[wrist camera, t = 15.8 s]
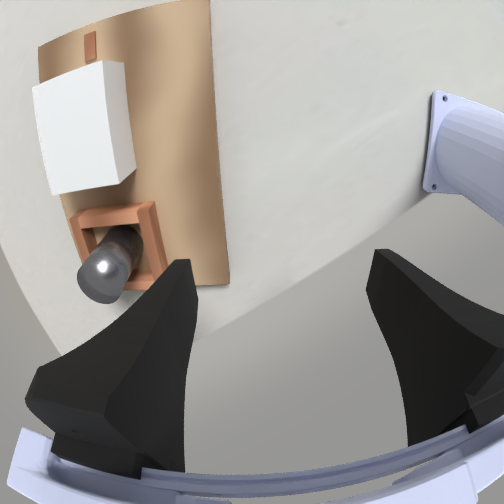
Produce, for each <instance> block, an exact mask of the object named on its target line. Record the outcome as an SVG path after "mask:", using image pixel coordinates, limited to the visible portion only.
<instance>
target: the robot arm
mask: <svg viewBox="0 0 504 504" xmlns="http://www.w3.org/2000/svg"><path fill="white" fill-rule="evenodd" d="M443 96H444V98H445V99H444V101H443ZM433 184H434V187H433V188H432V185H433ZM423 189H424V190H425V191H426V192H432V193H448V194H461V195H463V196H465V197H466V198H468V199H469V200H470V201H472V202H473V203H474V204H476V205H477V206H479V207H480V208H481V209H483V210H484V211H485V212H486V213H487V214H489V215H490V216H491V217H493V218H494V219H495V220H496V221H498V222H499V223H500V224H501V225H502V226H504V113H502V112H500V111H497V110H495V109H492V108H490V107H487V106H485V105H482V104H479V103H476V102H474V101H471V100H468V99H465V98H462V97H459V96H456V95H452V94H449V93H446V92H442V91H438V90H436V91H434V92H433V95H432V111H431V124H430V135H429V144H428V152H427V160H426V167H425V173H424V179H423ZM366 292H367V295H368V299H369V302H370V305H371V309H372V311H373V313H374V316H375V318H376V320H377V323H378V325H379V327H380V329H381V331H382V334H383V336H384V338H385V340H386V343H387V345H388V347H389V350H390V352H391V355H392V357H393V360H394V363H395V367H396V371H397V375H398V378H399V382H400V387H401V392H402V397H403V402H404V409H405V415H406V424H407V436H408V447H407V448H404V449H400V450H397V451H394V452H391V453H387V454H383V455H380V456H376V457H372V458H368V459H364V460H360V461H356V462H351V463H346V464H342V465H336V466H331V467H325V468H319V469H312V470H304V471H296V472H286V473H274V474H256V475H211V474H194V473H185V462H184V401H185V385H186V375H187V368H188V363H189V357H190V352H191V347H192V343H193V338H194V332H195V327H196V322H197V310H198V296H197V291H196V286H195V281H194V276H193V271H192V266H191V260H190V259H175V260H174V261H173V262H172V263H171V264H170V265H169V266H168V267H167V268H166V270H165V271H164V272H163V273H162V274H161V275H160V276H159V278H158V279H157V280H156V281H155V282H154V283H153V284H152V285H151V286H150V288H149V289H148V290H147V291H146V292H145V293H144V294H143V295H142V296H141V297H140V298H139V299H138V300H137V301H136V302H135V303H134V304H133V305H132V306H131V307H130V308H129V309H128V310H127V311H126V312H124V313H123V314H122V315H121V316H120V317H119V318H118V319H116V320H115V321H114V322H113V323H112V324H110V325H109V326H108V327H106V328H105V329H104V330H102V331H101V332H99V333H98V334H97V335H95V336H94V337H93V338H91V339H90V340H88V341H87V342H85V343H84V344H82V345H80V346H79V347H77V348H76V349H74V350H72V351H70V352H69V353H67V354H65V355H63V356H61V357H59V358H57V359H55V360H53V361H51V362H49V363H47V364H45V365H43V366H40V367H39V368H38V369H37V371H36V374H35V376H34V378H33V380H32V383H31V385H30V388H29V390H28V392H27V395H26V397H25V403H26V405H27V407H28V408H29V410H30V411H31V412H32V413H33V414H34V415H35V416H36V417H37V418H39V419H40V420H41V421H42V422H43V423H44V424H46V425H47V426H48V427H49V428H50V429H52V430H53V431H54V432H55V436H54V440H53V439H51V438H49V437H48V436H45V435H43V434H40V433H38V432H36V431H33V430H31V429H28V428H26V427H23V428H22V430H21V433H20V436H19V439H18V442H17V446H16V449H15V452H14V456H13V459H12V463H11V467H10V471H9V475H8V480H7V485H8V486H10V487H11V488H13V489H15V490H16V491H18V492H19V493H21V494H23V495H25V496H26V497H28V498H30V499H32V500H33V501H35V502H37V503H39V504H231V502H230V501H229V500H219V499H209V498H202V497H223V498H251V497H273V496H285V495H295V494H303V493H311V492H317V491H323V490H328V489H335V488H340V487H344V486H348V485H353V484H358V483H362V482H366V481H370V480H373V479H376V478H380V477H384V476H387V475H390V474H393V473H397V472H399V471H403V470H406V469H408V468H411V467H414V466H417V465H419V464H422V463H424V462H427V461H429V460H432V459H434V458H435V459H434V460H432V461H430V462H428V463H426V464H424V465H421V466H419V467H417V468H416V469H415V470H414V471H412V472H411V473H409V474H408V475H406V476H404V477H402V478H401V479H398V480H396V481H394V482H393V483H392V486H389V487H386V488H382V489H379V490H375V491H372V492H368V493H364V494H361V495H357V496H352V497H348V498H344V499H339V500H334V501H329V502H324V503H318V504H476V503H477V501H478V496H477V493H479V492H480V491H481V490H483V489H484V488H486V487H487V486H488V485H490V484H491V483H492V482H494V481H495V480H496V479H498V478H499V477H500V476H501V475H503V474H504V315H502V314H499V313H496V312H494V311H492V310H489V309H487V308H485V307H483V306H480V305H478V304H476V303H474V302H472V301H470V300H468V299H466V298H465V297H463V296H461V295H459V294H457V293H455V292H454V291H452V290H450V289H449V288H447V287H446V286H444V285H443V284H441V283H439V282H438V281H436V280H435V279H433V278H432V277H430V276H429V275H427V274H426V273H424V272H423V271H422V270H420V269H419V268H417V267H416V266H414V265H413V264H411V263H410V262H408V261H407V260H406V259H404V258H402V257H401V256H400V255H398V254H396V253H395V252H393V251H391V250H389V249H375V252H374V256H373V261H372V265H371V270H370V274H369V278H368V282H367V287H366ZM186 495H189V496H186ZM195 496H202V497H195Z"/></svg>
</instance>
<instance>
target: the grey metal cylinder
mask: <svg viewBox="0 0 504 504" xmlns="http://www.w3.org/2000/svg"><path fill="white" fill-rule="evenodd" d="M142 251H143V240H142V238H141V236H140V234H139V233H138V232H137V231H136V230H135V229H134V228H132V227H130V226H128V225H124V224H122V225H115V226H113V227H112V228H111V229H110V230H109V231H108V232H107V233H106V235H105V236H104V237H103V238H102V240H101V241H100V242H99V244H98V245H97V246H96V247H95V249H94V250H93V251H92V253H91V254H90V255H89V257H88V258H87V259H86V261H85V262H84V263H83V265H82V266H81V267H80V269H79V270H78V273H77V281H78V284H79V286H80V288H81V290H82V291H83V292H84V293H85V294H86V295H87V296H88V297H89V298H90V299H92V300H94V301H96V302H98V303H102V304H110V303H113V302H115V301H116V300H117V299H118V298H119V296H120V294H121V292H122V290H123V288H124V286H125V284H126V282H127V280H128V278H129V276H130V274H131V272H132V270H133V268H134V266H135V265H136V263H137V261H138V259H139V257H140V255H141V253H142Z"/></svg>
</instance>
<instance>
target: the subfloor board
mask: <svg viewBox="0 0 504 504" xmlns="http://www.w3.org/2000/svg"><path fill="white" fill-rule="evenodd" d="M101 60H105V61H115V62H123V63H124V70H125V82H126V93H127V103H128V111H129V120H130V127H131V135H132V141H133V148H134V154H135V161H136V167H137V168H136V169H135V170H134V171H133V172H132V173H131V174H130V175H129V176H127V177H126V178H125V179H124V180H123V181H122V182H121V183H120V184H115V185H109V186H102V187H96V188H90V189H84V190H79V191H73V192H68V193H63V194H59V195H60V198H61V202H62V205H63V209H64V212H65V215H66V219H67V222H68V225H69V228H70V231H71V234H72V237H73V240H74V243H75V246H76V248H77V251H78V254H79V257H80V259H81V262H82V264H83V263H84V262H85V261H86V259H87V258H88V257H89V255H90V254H91V253H92V251H93V250H94V249H95V247H96V246H97V245H98V244H99V242H100V241H101V240H102V238H103V237H104V236H105V235H106V233H107V232H108V231H109V230H110V229H111V228H112V227H113V226H115V225H122V224H124V225H128V226H130V227H132V228H134V229H135V230H136V231H137V232H138V233H139V234H140V236H141V238H142V240H143V251H142V253H141V255H140V257H139V259H138V261H137V263H136V265H135V266H134V268H133V270H132V272H131V274H130V276H129V278H128V280H127V282H126V284H125V286H124V288H123V290H148V289H149V288H150V286H151V285H152V284H153V283H154V282H155V281H156V280H157V279H158V278H159V276H160V275H161V274H162V273H163V272H164V271H165V270H166V268H167V267H168V266H169V265H170V264H171V263H172V262H173V261H174V260H175V259H190V260H191V266H192V271H193V276H194V281H195V285H220V284H230V272H229V262H228V252H227V242H226V232H225V221H224V210H223V199H222V187H221V175H220V163H219V150H218V136H217V122H216V107H215V92H214V75H213V56H212V36H211V12H210V0H180V1H174V2H169V3H164V4H159V5H154V6H150V7H146V8H142V9H138V10H134V11H130V12H127V13H123V14H120V15H116V16H113V17H110V18H107V19H104V20H101V21H98V22H95V23H93V24H90V25H87V26H85V27H82V28H79V29H77V30H74V31H72V32H70V33H67V34H65V35H63V36H61V37H58V38H56V39H54V40H52V41H50V42H48V43H46V44H44V45H42V46H40V47H38V62H39V80H40V84H41V83H43V82H45V81H48V80H50V79H52V78H55V77H57V76H59V75H62V74H64V73H67V72H70V71H72V70H75V69H78V68H80V67H83V66H86V65H89V64H92V63H95V62H98V61H101Z"/></svg>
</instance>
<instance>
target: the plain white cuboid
mask: <svg viewBox="0 0 504 504" xmlns="http://www.w3.org/2000/svg"><path fill="white" fill-rule="evenodd" d="M32 91H33V101H34V109H35V117H36V123H37V130H38V136H39V141H40V146H41V152H42V156H43V161H44V165H45V170H46V174H47V178H48V182H49V186H50V190H51V193H52V196H53V195H58V194H63V193H68V192H73V191H79V190H84V189H90V188H96V187H102V186H109V185H115V184H120V183H121V182H122V181H123V180H124V179H125V178H126V177H127V176H129V175H130V174H131V173H132V172H133V171H134V170H135V169H136V168H137V167H136V161H135V154H134V148H133V141H132V135H131V127H130V120H129V111H128V103H127V93H126V82H125V70H124V63H123V62H115V61H105V60H101V61H98V62H95V63H92V64H89V65H86V66H83V67H80V68H78V69H75V70H72V71H70V72H67V73H64V74H62V75H59V76H57V77H55V78H52V79H50V80H48V81H45V82H43V83H41V84H39V85H37V86H34V87H32Z"/></svg>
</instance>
